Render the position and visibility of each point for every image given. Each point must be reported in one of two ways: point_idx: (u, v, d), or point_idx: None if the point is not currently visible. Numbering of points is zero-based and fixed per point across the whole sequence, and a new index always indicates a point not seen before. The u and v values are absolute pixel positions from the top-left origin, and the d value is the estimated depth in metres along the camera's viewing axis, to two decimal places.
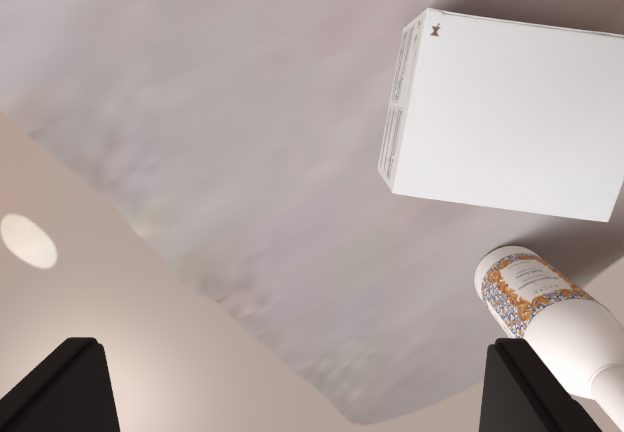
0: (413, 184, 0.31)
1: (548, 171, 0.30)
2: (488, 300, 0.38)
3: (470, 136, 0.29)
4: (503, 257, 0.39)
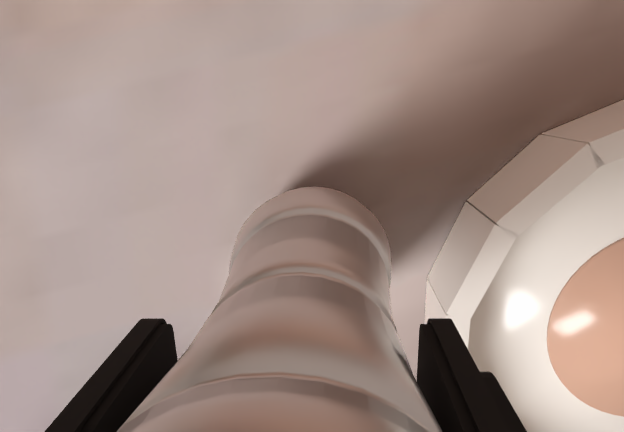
0: None
1: None
2: None
3: None
4: None
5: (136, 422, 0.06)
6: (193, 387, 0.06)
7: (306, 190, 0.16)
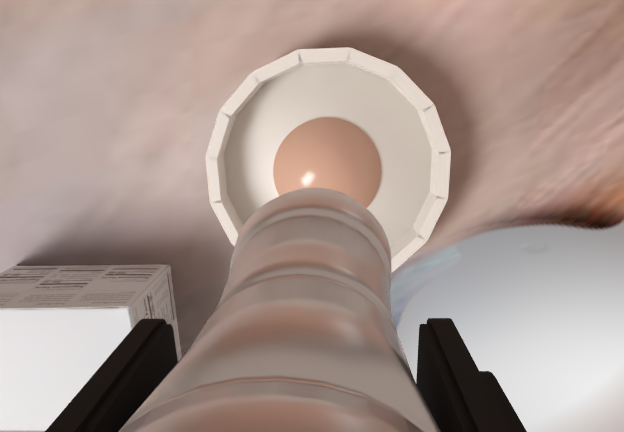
0: None
1: None
2: None
3: (12, 388, 0.37)
4: None
5: (135, 425, 0.06)
6: (192, 390, 0.06)
7: (306, 191, 0.16)
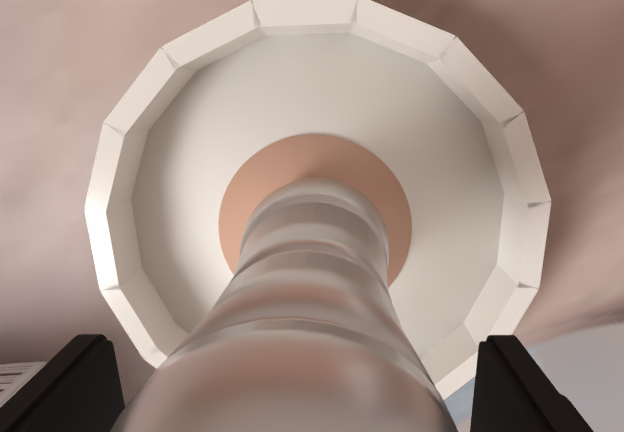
0: None
1: None
2: None
3: None
4: None
5: (178, 354, 0.07)
6: (223, 328, 0.07)
7: (311, 180, 0.18)
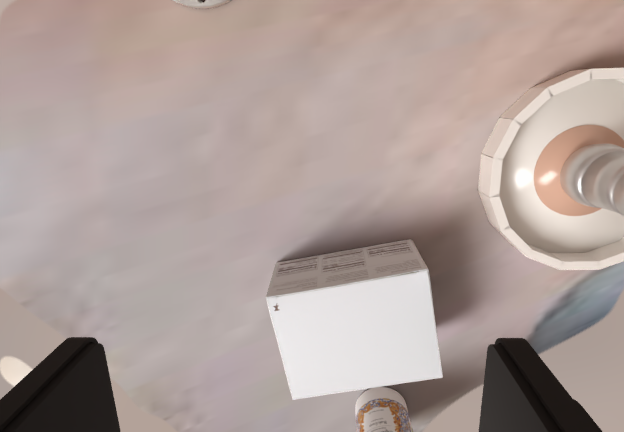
0: (303, 391, 0.45)
1: (386, 361, 0.43)
2: None
3: (326, 357, 0.43)
4: (370, 400, 0.53)
5: None
6: None
7: (604, 144, 0.41)
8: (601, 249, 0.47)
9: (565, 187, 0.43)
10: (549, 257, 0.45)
